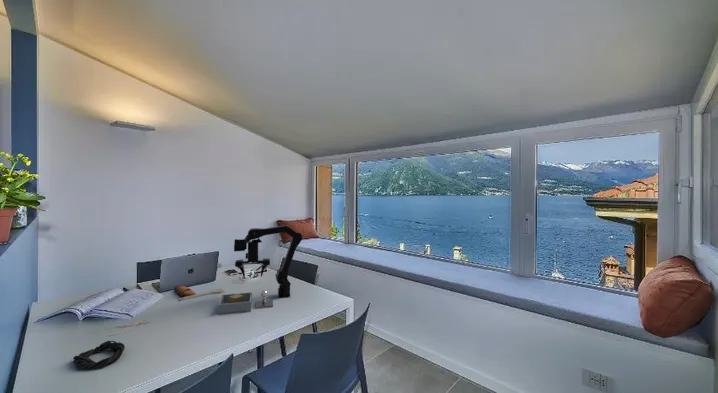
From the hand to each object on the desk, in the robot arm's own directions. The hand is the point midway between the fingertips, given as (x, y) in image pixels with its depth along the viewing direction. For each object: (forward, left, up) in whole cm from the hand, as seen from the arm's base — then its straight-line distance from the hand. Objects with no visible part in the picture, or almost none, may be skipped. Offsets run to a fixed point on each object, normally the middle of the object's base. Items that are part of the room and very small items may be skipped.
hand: (252, 277), depth 173 cm
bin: (+8, +10, -13) cm, 18 cm away
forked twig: (+52, +22, -14) cm, 58 cm away
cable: (+51, +50, -14) cm, 73 cm away
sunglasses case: (+40, -22, -14) cm, 47 cm away
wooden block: (+8, +10, -12) cm, 18 cm away
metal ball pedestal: (-7, +10, -13) cm, 18 cm away
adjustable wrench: (+29, -16, -14) cm, 36 cm away
